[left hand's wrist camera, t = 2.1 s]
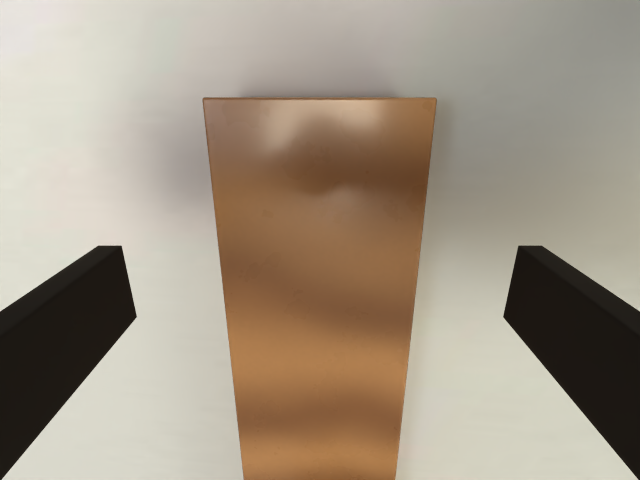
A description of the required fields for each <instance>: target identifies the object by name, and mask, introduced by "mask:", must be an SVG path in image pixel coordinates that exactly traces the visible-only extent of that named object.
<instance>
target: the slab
mask: <svg viewBox="0 0 640 480" xmlns="http://www.w3.org/2000/svg"><path fill="white" fill-rule="evenodd" d="M436 102H437V99H436V98H409V97H213V98H203V109H204V118H205V127H206V136H207V145H208V154H209V164H210V173H211V182H212V191H213V200H214V210H215V219H216V228H217V237H218V246H219V255H220V265H221V274H222V283H223V292H224V301H225V311H226V320H227V329H228V338H229V347H230V356H231V366H232V375H233V384H234V393H235V402H236V412H237V421H238V430H239V439H240V448H241V457H242V467H243V476H244V480H395V477H396V468H397V458H398V449H399V440H400V431H401V422H402V413H403V404H404V394H405V385H406V376H407V367H408V358H409V349H410V340H411V330H412V321H413V312H414V303H415V294H416V285H417V276H418V266H419V257H420V248H421V239H422V230H423V221H424V212H425V202H426V193H427V184H428V175H429V166H430V157H431V148H432V138H433V129H434V120H435V111H436Z"/></svg>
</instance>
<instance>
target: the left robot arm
mask: <svg viewBox="0 0 640 480" xmlns="http://www.w3.org/2000/svg"><path fill="white" fill-rule="evenodd" d="M136 317H137V316H136V311H135V306H134V302H133V297H132V292H131V288H130V283H129V278H128V274H127V269H126V264H125V260H124V255H123V250H122V246H97V247H96V248H94V249H93V250H91V251H90V252H88V253H87V254H85V255H84V256H82V257H81V258H79V259H78V260H76V261H75V262H73V263H72V264H70V265H69V266H67V267H66V268H64V269H63V270H61V271H60V272H59V273H57V274H56V275H54V276H53V277H51V278H50V279H48V280H47V281H45V282H44V283H42V284H41V285H39V286H38V287H36V288H35V289H33V290H32V291H30V292H29V293H27V294H26V295H24V296H23V297H21V298H20V299H18V300H17V301H15V302H14V303H12V304H11V305H9V306H8V307H6V308H5V309H3V310H2V311H0V480H2V478H3V477H4V476H5V475H6V473H7V472H8V471H9V470H10V469H11V467H12V466H13V465H14V464H15V463H16V461H17V460H18V459H19V458H20V457H21V455H22V454H23V453H24V452H25V451H26V449H27V448H28V447H29V446H30V445H31V443H32V442H33V441H34V440H35V439H36V437H37V436H38V435H39V434H40V433H41V431H42V430H43V429H44V428H45V427H46V425H47V424H48V423H49V422H50V421H51V419H52V418H53V417H54V416H55V415H56V413H57V412H58V411H59V410H60V409H61V407H62V406H63V405H64V404H65V403H66V401H67V400H68V399H69V398H70V397H71V395H72V394H73V393H74V392H75V391H76V389H77V388H78V387H79V386H80V385H81V383H82V382H83V381H84V380H85V379H86V377H87V376H88V375H89V374H90V373H91V371H92V370H93V369H94V368H95V367H96V365H97V364H98V363H99V362H100V361H101V359H102V358H103V357H104V356H105V355H106V353H107V352H108V351H109V350H110V349H111V347H112V346H113V345H114V344H115V343H116V341H117V340H118V339H119V338H120V337H121V335H122V334H123V333H124V332H125V330H126V329H127V328H128V327H129V326H130V324H131V323H132V322H133V321H134V320H135V318H136ZM503 317H504V318H505V320H506V321H507V322H508V323H509V324H510V326H511V327H512V328H513V329H514V330H515V332H516V333H517V334H518V335H519V337H520V338H521V339H522V340H523V341H524V343H525V344H526V345H527V346H528V347H529V349H530V350H531V351H532V352H533V353H534V355H535V356H536V357H537V358H538V359H539V361H540V362H541V363H542V364H543V365H544V367H545V368H546V369H547V370H548V371H549V373H550V374H551V375H552V376H553V377H554V379H555V380H556V381H557V382H558V383H559V385H560V386H561V387H562V388H563V389H564V391H565V392H566V393H567V394H568V395H569V397H570V398H571V399H572V400H573V401H574V403H575V404H576V405H577V406H578V407H579V409H580V410H581V411H582V412H583V413H584V415H585V416H586V417H587V418H588V419H589V421H590V422H591V423H592V424H593V425H594V427H595V428H596V429H597V430H598V431H599V433H600V434H601V435H602V436H603V437H604V439H605V440H606V441H607V442H608V443H609V445H610V446H611V447H612V448H613V449H614V451H615V452H616V453H617V454H618V455H619V457H620V458H621V459H622V460H623V461H624V463H625V464H626V465H627V466H628V467H629V469H630V470H631V471H632V472H633V473H634V475H635V476H636V477H637V478H638V480H640V311H638V310H637V309H635V308H634V307H632V306H631V305H629V304H628V303H626V302H625V301H623V300H622V299H620V298H619V297H617V296H616V295H614V294H613V293H611V292H610V291H608V290H607V289H605V288H604V287H602V286H601V285H599V284H598V283H596V282H595V281H593V280H592V279H590V278H589V277H587V276H586V275H584V274H583V273H581V272H580V271H579V270H577V269H576V268H574V267H573V266H571V265H570V264H568V263H567V262H565V261H564V260H562V259H561V258H559V257H558V256H556V255H555V254H553V253H552V252H550V251H549V250H547V249H546V248H544V247H543V246H518V250H517V255H516V260H515V264H514V269H513V274H512V278H511V283H510V288H509V292H508V297H507V302H506V306H505V311H504V316H503Z"/></svg>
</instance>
